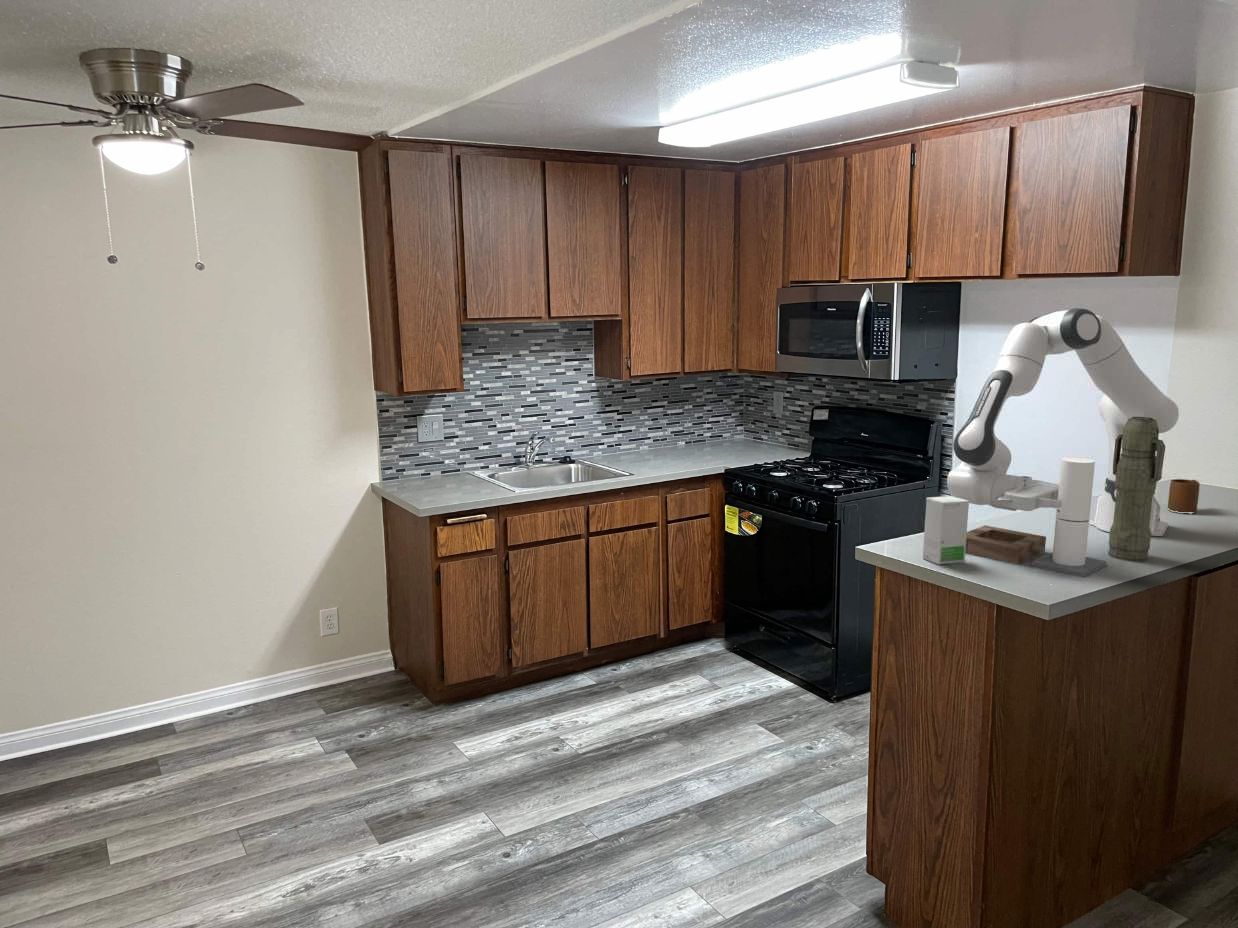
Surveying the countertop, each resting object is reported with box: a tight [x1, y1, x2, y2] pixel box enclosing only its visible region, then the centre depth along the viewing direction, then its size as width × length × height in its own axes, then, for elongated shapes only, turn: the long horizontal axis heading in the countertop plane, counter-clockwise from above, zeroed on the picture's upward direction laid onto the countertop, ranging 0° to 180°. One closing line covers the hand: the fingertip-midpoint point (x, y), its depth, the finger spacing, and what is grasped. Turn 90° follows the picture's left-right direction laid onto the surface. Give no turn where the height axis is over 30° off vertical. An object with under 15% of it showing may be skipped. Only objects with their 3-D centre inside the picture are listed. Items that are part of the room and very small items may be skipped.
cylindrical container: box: [1052, 456, 1096, 566], centre depth 216 cm, size 7×7×25 cm
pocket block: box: [965, 525, 1047, 565], centre depth 231 cm, size 16×16×4 cm
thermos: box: [1107, 417, 1166, 562], centre depth 224 cm, size 9×12×35 cm
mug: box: [1167, 478, 1200, 513], centre depth 275 cm, size 12×8×9 cm, turn 126°
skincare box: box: [922, 495, 970, 565], centre depth 222 cm, size 8×7×16 cm
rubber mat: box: [1031, 552, 1107, 578], centre depth 219 cm, size 14×12×1 cm
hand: (1068, 501), depth 217 cm, fingers open, 8 cm apart
